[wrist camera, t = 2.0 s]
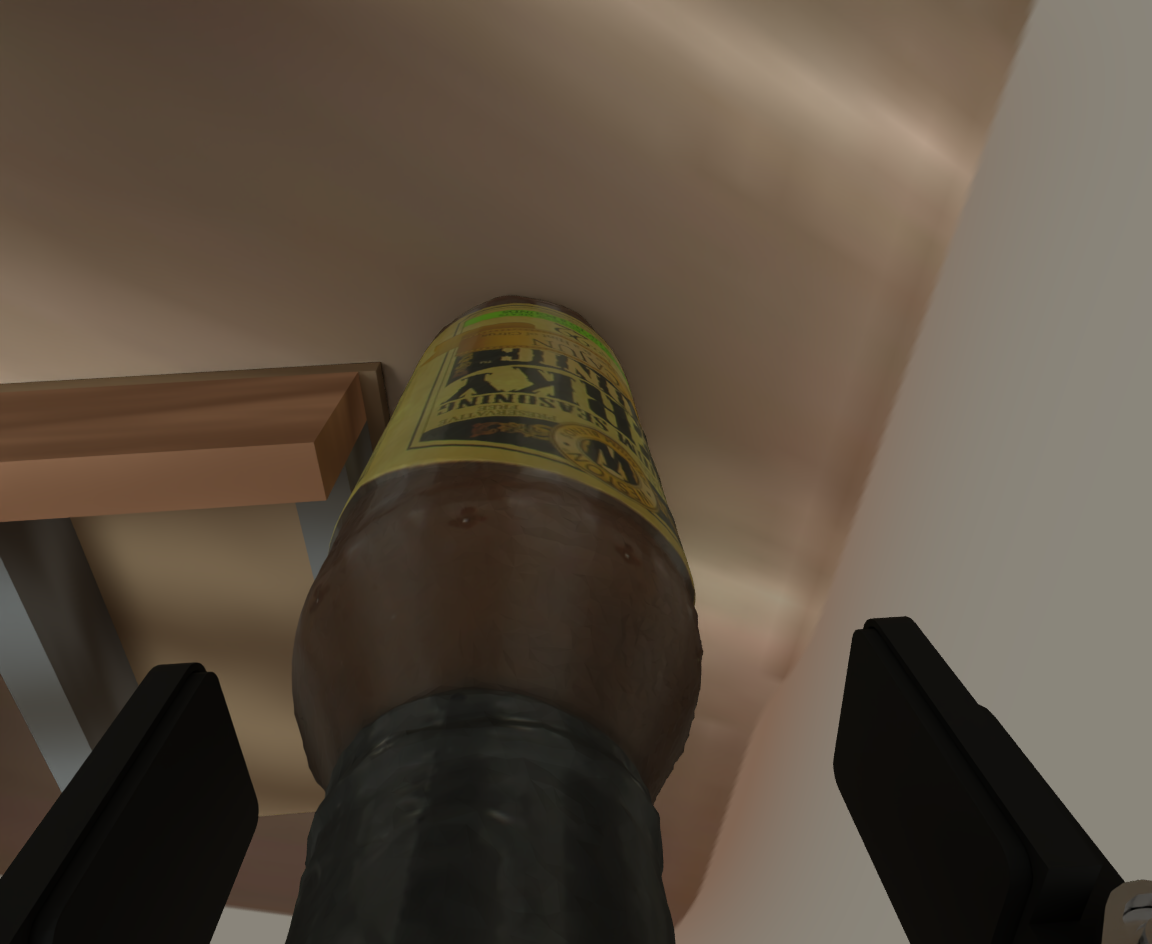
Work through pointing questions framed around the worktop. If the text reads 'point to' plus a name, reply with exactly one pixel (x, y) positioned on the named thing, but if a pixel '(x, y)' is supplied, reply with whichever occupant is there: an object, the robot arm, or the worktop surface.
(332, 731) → the sauce bottle
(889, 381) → the worktop surface
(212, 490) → the channel
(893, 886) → the robot arm
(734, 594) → the worktop surface
